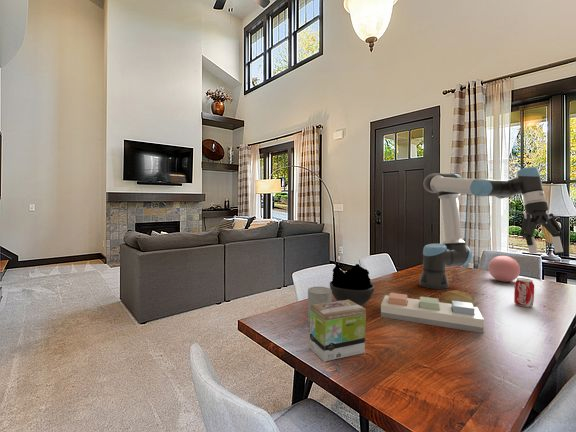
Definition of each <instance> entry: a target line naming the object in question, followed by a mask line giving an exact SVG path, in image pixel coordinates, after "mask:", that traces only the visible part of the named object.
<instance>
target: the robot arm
mask: <svg viewBox="0 0 576 432" xmlns="http://www.w3.org/2000/svg"><path fill="white" fill-rule="evenodd" d="M542 182H543V181H542V176H541V174H540V171H539V168H538V167H537V166H528V167H524V168H520V169H518V170H517V171H516V176H515V177H512V178H510V179H485V178H484V179H481V178H480V179H478V178H464V177H462V176H461V175H460V174H458V173H445V172H444V173H440V172H437V173H436V172H434V173H430V174H428V175H427V176H425V178H424V180H423V188H424V190H425V191H426V192H429V193H431V194H437V197H438V199H439V200H441V209H442V212H441V213H442V220H443V230H444V232H443V233H444V241H443V242H442V243H429V244H426V245H424V246H423V250H422V272H421V274H420V277H419V280H418V285H419V286H421V287H424V288H427V289H434V290H447V289H448V288H449V287H450V286H449V284H450V282H449V280H448V276H447V273H446V269H447V267H462V266H463V267H464V266H467V265H469V263H470V262H471V260H472V255H473V254H472V250H471V249H470V247H469V246H467V243H466V241H464V240H463V235H462V225H461V217H460V216H461V214H460V208H459V206H460V205H459V197H461V194H463V195H465V194H466V195H473V196H475V197H496V198H497V199H505V198H507V199H508V198H510V197H513V196H516V195H518V194H521V198H522V203H523V204H524V206H523V207H524V212H525V214H522V216H521V217H522V223H521V228H520V237H522V238H523V239H525V241H526V245H527V247H528V252H529V254H538V253H539V252H538V248H537V243H536V239H535V236H534V233H535V231H536V229H537V227H538V225H539V226H540V225H541V226H543V227H544V228H545V230H546V231H548V233H549V234H550V235H551V236H552V237H551V241H552V245H553V250H554V253H555V254H556V253H557V254H558V253H563V252H564V249H563V245H562V239H561V237H562V236H564V234H565V233H564V231H563V230H562V228H561V227H560V225H559V223H558V221H557V220H556V219H555V215H554V214H553V213H547V211H549V205H548V202H547V201H546V200H547V199H546V194H545V190H544V188H543V183H542Z"/></svg>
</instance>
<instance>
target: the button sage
mask: <svg viewBox="0 0 576 432" xmlns="http://www.w3.org/2000/svg"><path fill="white" fill-rule="evenodd" d="M419 300H420V308H424V309H432V310H439V302H440V299H439V298H436V297H429V296H419Z"/></svg>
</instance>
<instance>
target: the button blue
mask: <svg viewBox="0 0 576 432" xmlns="http://www.w3.org/2000/svg"><path fill="white" fill-rule="evenodd" d="M452 311H453V313H460V314H467V315H474V312H475V308H474V306H473V304H472V303H468V302H460V301H452Z"/></svg>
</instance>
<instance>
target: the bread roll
mask: <svg viewBox="0 0 576 432" xmlns="http://www.w3.org/2000/svg"><path fill="white" fill-rule="evenodd" d="M452 301H460V302H468V303H472V304H473V306H474V307H478V306H477V303H476V300H475V298H474V297H473V296H472V295H471V294H470V293H469V292H467V291H465V290H464V291H463V290H458V289H451V290H448V291H446V292H444V293H442V295H440V298H439V302H441V303H449V304H452Z"/></svg>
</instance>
